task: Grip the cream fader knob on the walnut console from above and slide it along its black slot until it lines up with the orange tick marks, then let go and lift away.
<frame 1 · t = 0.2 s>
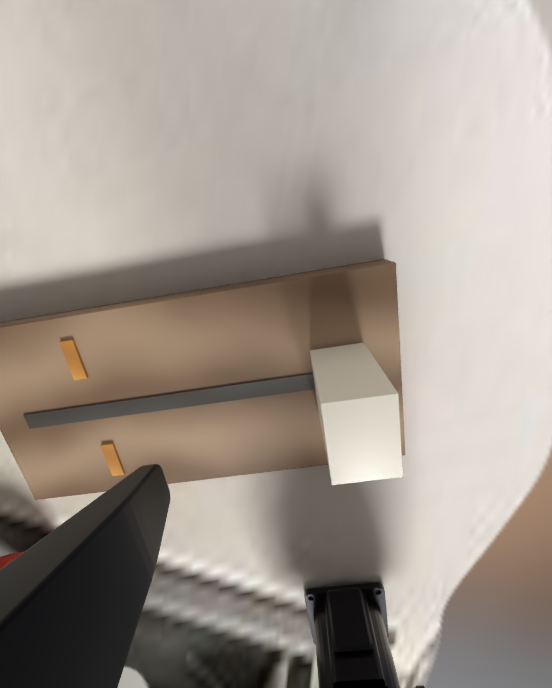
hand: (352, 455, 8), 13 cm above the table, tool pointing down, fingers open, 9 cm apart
fader console: (197, 383, 22), on the table
fader knob: (349, 404, 17), point 5 cm above the table, slide at 0.0 cm
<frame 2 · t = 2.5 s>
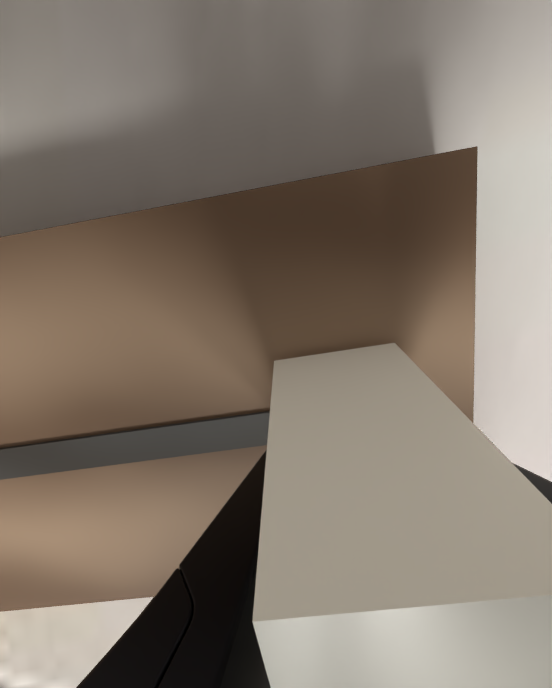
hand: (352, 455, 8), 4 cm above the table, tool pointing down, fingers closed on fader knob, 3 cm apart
fader console: (74, 421, 12), on the table
fader knob: (368, 509, 6), point 5 cm above the table, slide at 0.0 cm, touching gripper
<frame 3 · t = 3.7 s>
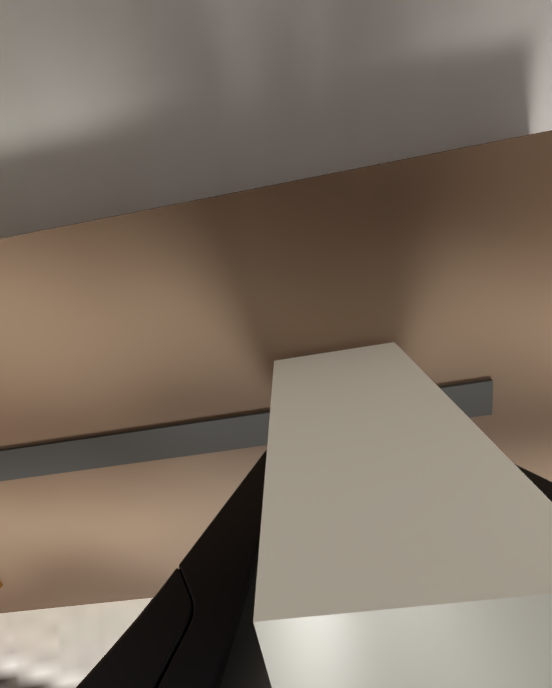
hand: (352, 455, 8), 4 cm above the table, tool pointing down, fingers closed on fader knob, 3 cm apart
fader console: (141, 413, 12), on the table
fader knob: (369, 508, 6), point 5 cm above the table, slide at 2.4 cm, touching gripper
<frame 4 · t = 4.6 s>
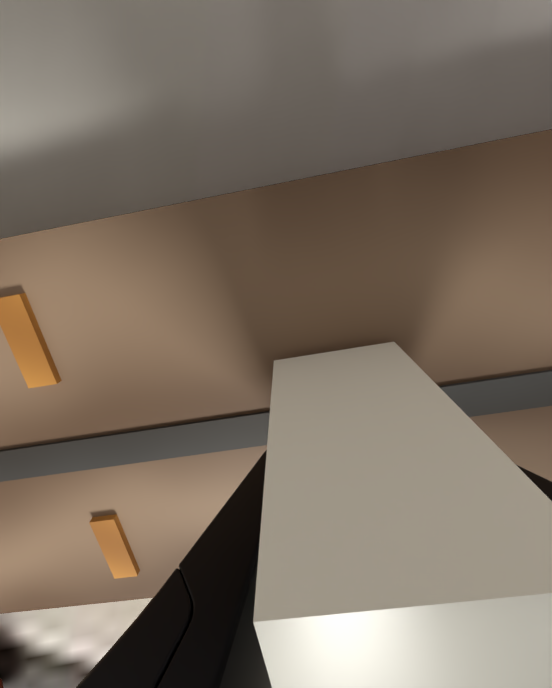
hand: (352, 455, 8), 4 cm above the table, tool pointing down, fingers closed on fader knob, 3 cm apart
fader console: (282, 392, 11), on the table
fader knob: (369, 508, 6), point 5 cm above the table, slide at 7.4 cm, touching gripper
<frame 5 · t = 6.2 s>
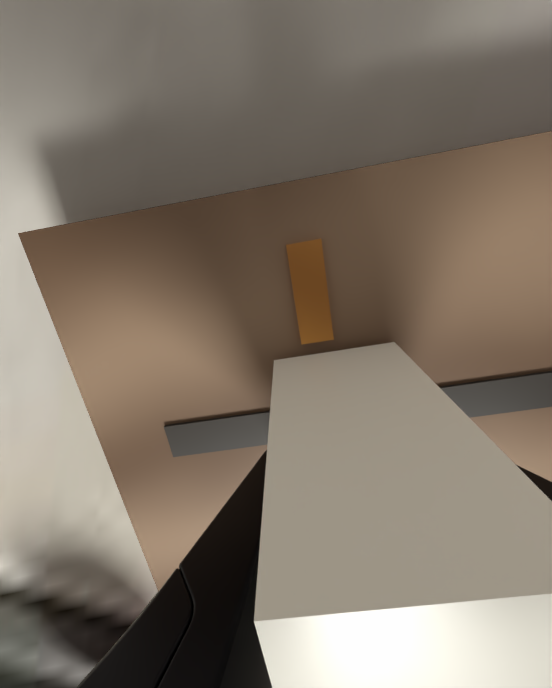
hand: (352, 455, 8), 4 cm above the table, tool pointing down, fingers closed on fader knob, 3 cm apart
fader console: (509, 359, 11), on the table
fader knob: (368, 508, 6), point 5 cm above the table, slide at 14.6 cm, touching gripper
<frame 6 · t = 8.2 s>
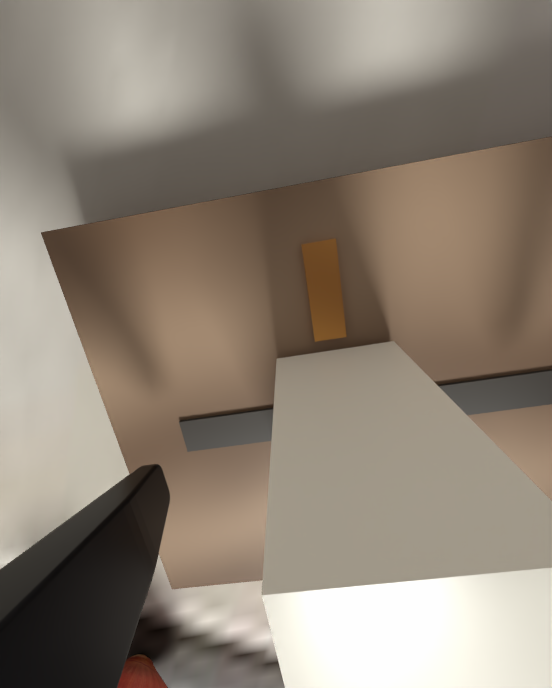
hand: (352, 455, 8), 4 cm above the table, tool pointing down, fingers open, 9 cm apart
fader console: (515, 357, 11), on the table
onion: (144, 653, 16), on the table
fader knob: (368, 500, 6), point 5 cm above the table, slide at 14.9 cm
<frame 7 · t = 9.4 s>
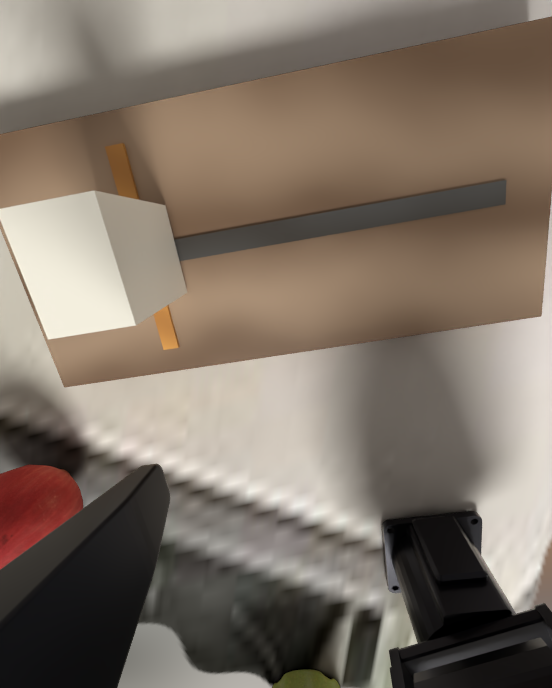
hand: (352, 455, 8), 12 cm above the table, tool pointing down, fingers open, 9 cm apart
fader console: (271, 233, 18), on the table
plant pot: (305, 685, 30), on the table
onion: (66, 473, 23), on the table
fader knob: (116, 261, 13), point 5 cm above the table, slide at 14.9 cm
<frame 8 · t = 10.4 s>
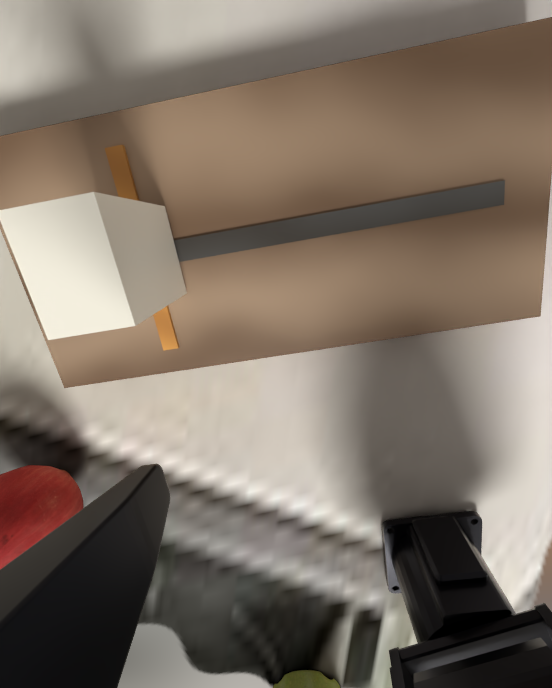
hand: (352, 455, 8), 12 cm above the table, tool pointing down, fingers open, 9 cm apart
fader console: (271, 234, 18), on the table
plant pot: (306, 686, 30), on the table
onion: (66, 473, 23), on the table
fader knob: (115, 262, 13), point 5 cm above the table, slide at 14.9 cm
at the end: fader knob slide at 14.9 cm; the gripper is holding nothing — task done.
